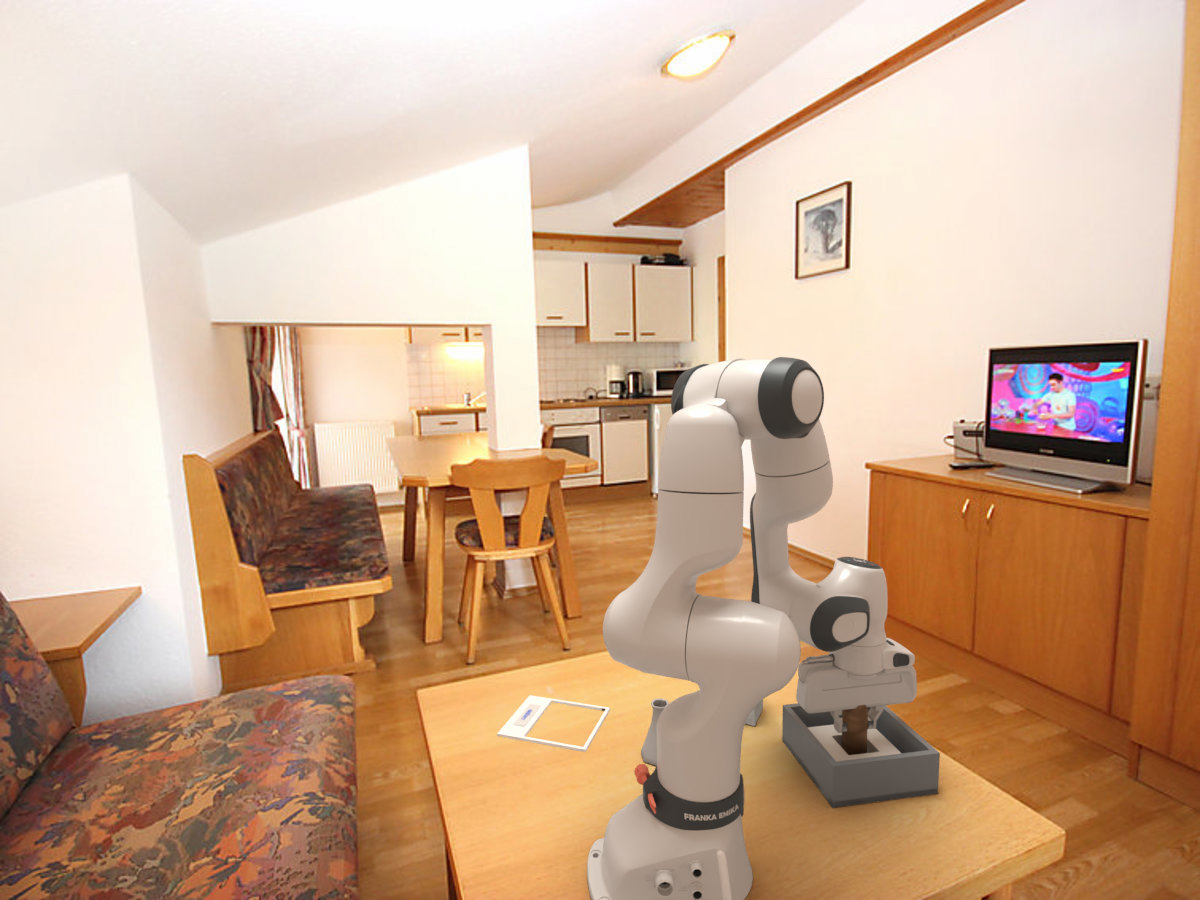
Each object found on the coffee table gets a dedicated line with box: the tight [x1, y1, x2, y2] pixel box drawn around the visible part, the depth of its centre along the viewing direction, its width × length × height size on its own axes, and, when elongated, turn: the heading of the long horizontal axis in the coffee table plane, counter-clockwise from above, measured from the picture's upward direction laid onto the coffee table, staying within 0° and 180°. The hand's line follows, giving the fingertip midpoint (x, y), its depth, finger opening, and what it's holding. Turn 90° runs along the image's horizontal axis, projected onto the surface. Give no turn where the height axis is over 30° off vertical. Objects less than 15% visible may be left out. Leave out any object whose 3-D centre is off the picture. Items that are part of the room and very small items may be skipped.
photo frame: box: [496, 694, 611, 753], centre depth 121 cm, size 15×1×18 cm
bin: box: [781, 702, 941, 809], centre depth 105 cm, size 18×18×7 cm
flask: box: [640, 697, 670, 767], centre depth 110 cm, size 7×7×10 cm
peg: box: [842, 705, 868, 755], centre depth 105 cm, size 4×4×10 cm
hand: (855, 729), depth 105 cm, fingers closed on peg, 4 cm apart
